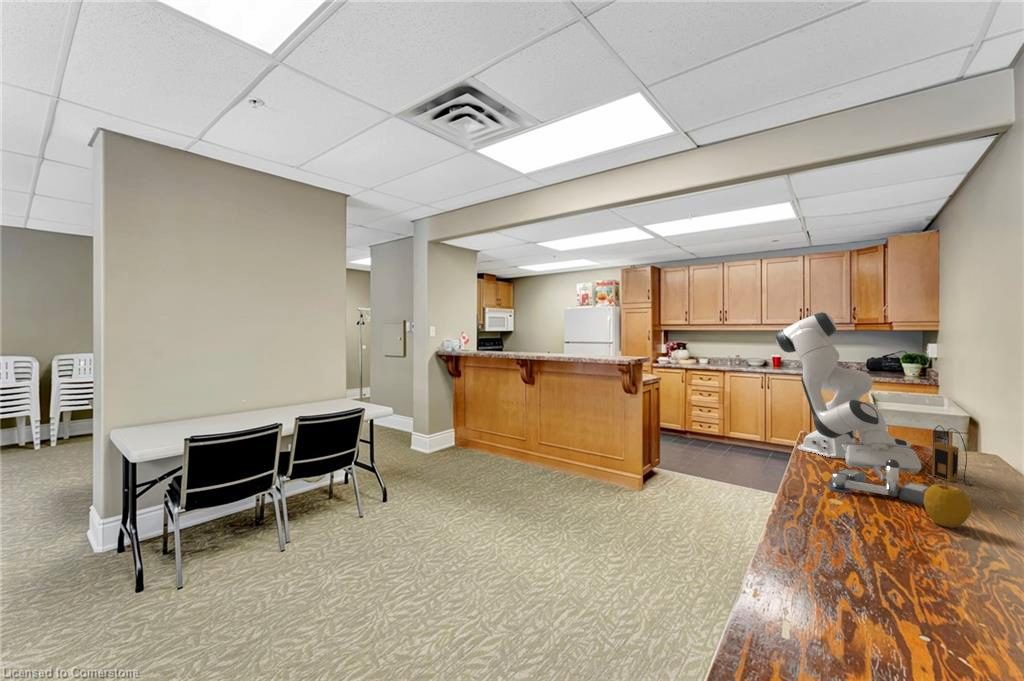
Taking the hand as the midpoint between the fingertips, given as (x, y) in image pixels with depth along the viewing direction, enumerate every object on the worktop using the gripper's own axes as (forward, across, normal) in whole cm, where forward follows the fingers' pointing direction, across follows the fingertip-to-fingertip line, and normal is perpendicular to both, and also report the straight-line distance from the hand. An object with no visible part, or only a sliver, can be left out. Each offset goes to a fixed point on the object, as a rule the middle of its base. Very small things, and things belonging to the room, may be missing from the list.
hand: (887, 480), depth 145 cm
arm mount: (+3, -13, +5) cm, 14 cm away
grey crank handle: (+3, -7, +3) cm, 8 cm away
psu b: (-4, -7, +11) cm, 14 cm away
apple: (+18, +6, -10) cm, 22 cm away
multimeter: (-18, +31, +26) cm, 44 cm away
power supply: (+3, +8, +4) cm, 10 cm away
